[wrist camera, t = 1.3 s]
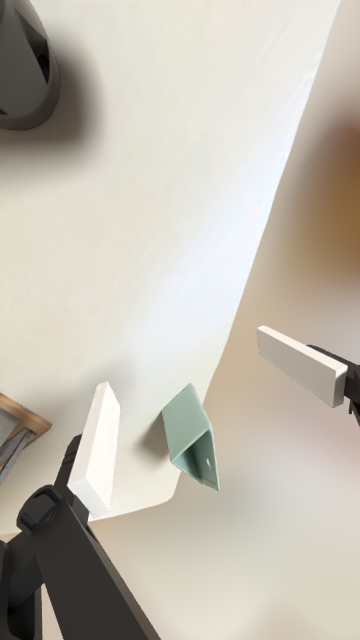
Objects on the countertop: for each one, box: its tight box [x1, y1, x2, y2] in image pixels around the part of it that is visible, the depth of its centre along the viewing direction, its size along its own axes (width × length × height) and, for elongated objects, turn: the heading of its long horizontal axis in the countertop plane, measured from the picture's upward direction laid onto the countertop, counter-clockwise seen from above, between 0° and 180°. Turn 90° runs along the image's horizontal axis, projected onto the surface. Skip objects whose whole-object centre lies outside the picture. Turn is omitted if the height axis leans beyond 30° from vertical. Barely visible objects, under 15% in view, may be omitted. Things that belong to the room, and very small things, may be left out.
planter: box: [162, 383, 220, 491], centre depth 40 cm, size 16×8×20 cm, turn 175°
